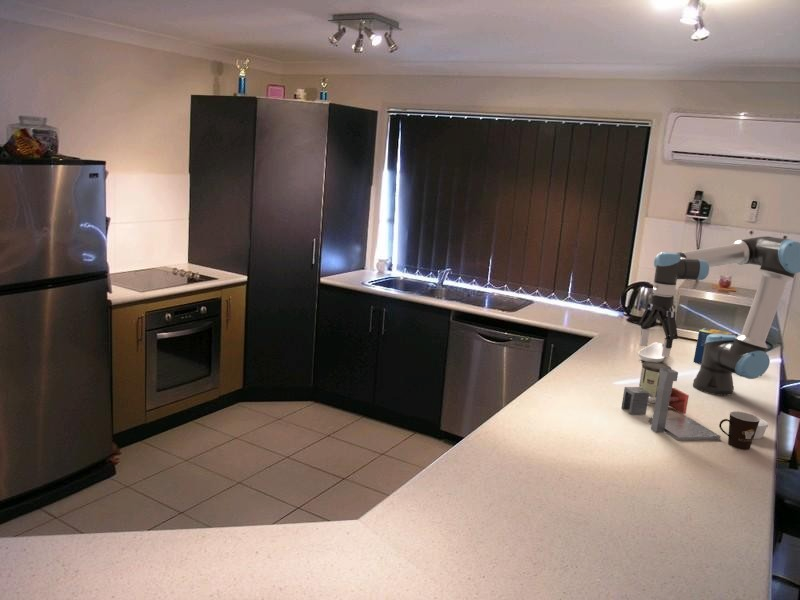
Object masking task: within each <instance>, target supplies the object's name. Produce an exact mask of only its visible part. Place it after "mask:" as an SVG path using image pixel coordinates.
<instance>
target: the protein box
mask: <svg viewBox="0 0 800 600" xmlns="http://www.w3.org/2000/svg"><path fill="white" fill-rule="evenodd" d="M709 334H724V335H732V336H739V334H738V333H735V332H728V331H725V330H724V331H723V330H719V329H714V328H709V327H702V328H700V329H699V330H698V335H697V341H696V345H695V350H694V351H695V352H694V356H693V361H692V363H694V362H695V364H699V363H700V364H699V365H701V364H702V358H703V352H704V346H705V342H706V338H707V336H708V335H709Z"/></svg>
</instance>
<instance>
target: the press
mask: <svg viewBox="0 0 800 600" xmlns="http://www.w3.org/2000/svg"><path fill="white" fill-rule="evenodd" d="M678 376H679V372H678V371H676V370H674V369H672V368H671V369H667V368H660V371H659V383H658V389H657V395H656V401H655V406H654V408H653V413H652V417H649V418H648V421H647V422H648V423H650V425H651V426H650V430H651V431H652V432H654V433H656V434H659V433H665V434H667V435H668V436H670V437H672V438H673V439H675V440H676V441H679V442H680V441H684V442H685V441H714V440H716V441H717V440H718V441H719V440H721V435H720V434H718V433H716V432H714V431H713V430H711V429H709V428H707V427H706V426H704V425H702V424H700V423H699V422H697V421H695V420H694V419H692V418H690V417H668V411H669V407H670V406H669V401H670V396H671V391H672V388H673V385H674V382H677V380H678ZM622 396H623V397H622V401H621V402H622V403H621V407H620V409H621V410H622V411H626V410H627V411H628V415H631V416H643V415H644V416H645V415H646V414H647V409H648V405H647V404H648V398H649V392H647V391H645V390H644V389H642V388H640V387H639V386H625V387H624V389H623V394H622ZM646 416H647V415H646Z"/></svg>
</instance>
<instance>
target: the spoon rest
mask: <svg viewBox="0 0 800 600" xmlns="http://www.w3.org/2000/svg"><path fill="white" fill-rule="evenodd" d="M663 345H664V342H663V343H660V342H657V341H655V342H653V343H651V344H649V345H647V346H645V347H644V348H642V349H639V351H638V352H637V355H638V357H639V358H640V360H641V361H644V362H656V363H661V362H662V361H664V359H665V358H666V357H663V356H662V351H663Z"/></svg>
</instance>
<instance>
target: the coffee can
mask: <svg viewBox="0 0 800 600" xmlns="http://www.w3.org/2000/svg"><path fill="white" fill-rule="evenodd" d="M660 368H667V369H672V367H671V366H669V365H667V364H664V363H661V362H659V363H656V362H645V361H644V362H642V363H641V371H640V377H639V384H638V387H640V388H642V389H644V390H645V391H647V392H649V397H656V395H657V389H658V383H659V371H660ZM647 406H654V407H655V402H648V404H647Z"/></svg>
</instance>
